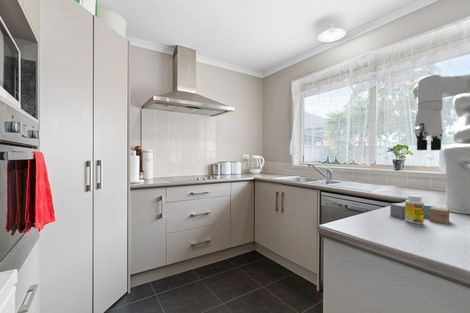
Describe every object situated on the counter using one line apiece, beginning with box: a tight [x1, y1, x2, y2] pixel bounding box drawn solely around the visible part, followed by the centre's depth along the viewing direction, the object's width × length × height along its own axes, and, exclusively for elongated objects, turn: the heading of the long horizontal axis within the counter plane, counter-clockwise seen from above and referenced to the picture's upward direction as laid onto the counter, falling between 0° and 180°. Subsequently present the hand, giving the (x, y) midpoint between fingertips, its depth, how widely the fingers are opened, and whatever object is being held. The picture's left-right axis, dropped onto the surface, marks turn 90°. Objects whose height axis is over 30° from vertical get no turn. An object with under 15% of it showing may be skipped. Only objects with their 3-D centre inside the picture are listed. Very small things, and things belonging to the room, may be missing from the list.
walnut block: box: [429, 206, 450, 225], centre depth 86 cm, size 5×5×5 cm
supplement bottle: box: [404, 194, 425, 225], centre depth 84 cm, size 6×6×10 cm
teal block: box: [424, 202, 437, 219], centre depth 93 cm, size 5×5×5 cm
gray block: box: [389, 202, 405, 219], centre depth 92 cm, size 5×5×5 cm
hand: (429, 150), depth 88 cm, fingers open, 9 cm apart
